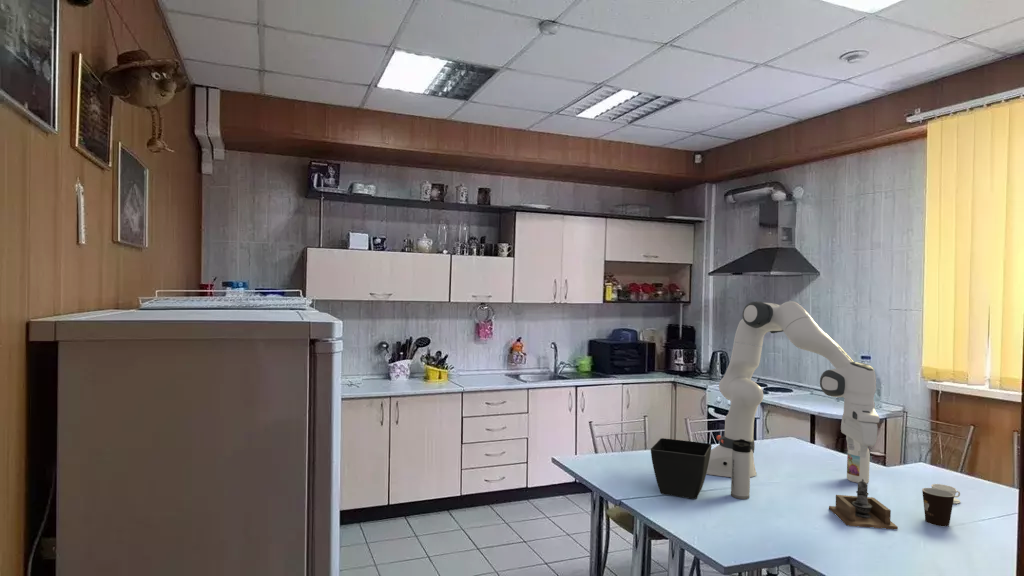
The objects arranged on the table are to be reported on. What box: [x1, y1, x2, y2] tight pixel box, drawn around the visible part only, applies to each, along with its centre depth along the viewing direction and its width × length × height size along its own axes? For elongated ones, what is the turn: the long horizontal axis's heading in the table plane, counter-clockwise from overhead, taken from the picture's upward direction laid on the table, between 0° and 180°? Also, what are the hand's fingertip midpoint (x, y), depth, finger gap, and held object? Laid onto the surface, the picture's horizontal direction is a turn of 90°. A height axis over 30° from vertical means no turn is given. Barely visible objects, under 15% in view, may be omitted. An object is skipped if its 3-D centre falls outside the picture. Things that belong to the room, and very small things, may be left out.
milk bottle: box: [846, 440, 871, 484], centre depth 239 cm, size 8×8×20 cm
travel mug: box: [730, 439, 751, 500], centre depth 216 cm, size 6×7×20 cm
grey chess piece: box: [852, 479, 872, 518], centre depth 198 cm, size 6×6×12 cm
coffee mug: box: [921, 487, 955, 528], centre depth 198 cm, size 12×9×10 cm
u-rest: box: [828, 494, 899, 530], centre depth 198 cm, size 15×15×6 cm
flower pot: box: [650, 437, 713, 500], centre depth 219 cm, size 19×19×17 cm
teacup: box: [931, 483, 961, 505], centre depth 220 cm, size 10×10×5 cm
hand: (856, 453), depth 199 cm, fingers open, 8 cm apart
